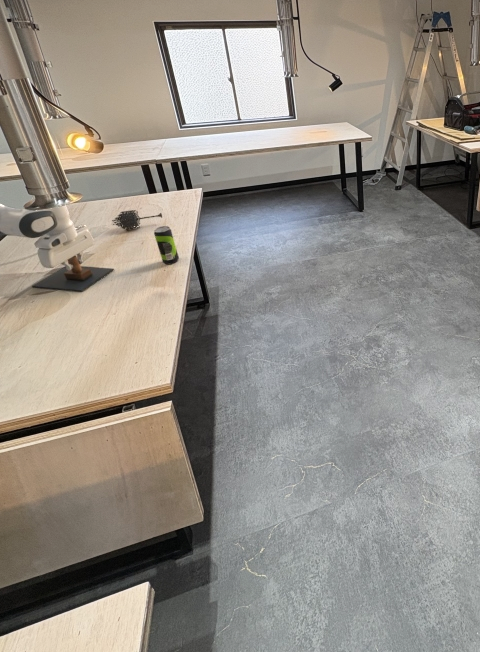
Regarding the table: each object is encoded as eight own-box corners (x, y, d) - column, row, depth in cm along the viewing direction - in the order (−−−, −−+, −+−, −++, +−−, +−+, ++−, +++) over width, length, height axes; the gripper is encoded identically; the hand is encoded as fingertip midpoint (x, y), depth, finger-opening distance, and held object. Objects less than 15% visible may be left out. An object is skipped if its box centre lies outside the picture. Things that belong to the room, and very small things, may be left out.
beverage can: (182, 258, 175) (173, 226, 168) (172, 265, 170) (163, 232, 163) (169, 257, 176) (160, 225, 170) (159, 264, 171) (149, 231, 164)
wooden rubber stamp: (66, 279, 160) (57, 259, 156) (76, 273, 164) (68, 253, 160) (83, 281, 159) (74, 261, 154) (93, 275, 162) (85, 255, 158)
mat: (32, 287, 157) (31, 285, 157) (68, 266, 171) (67, 264, 171) (82, 292, 153) (81, 290, 153) (114, 270, 167) (113, 268, 167)
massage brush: (163, 227, 205) (158, 209, 200) (113, 235, 197) (106, 217, 193) (164, 220, 212) (159, 203, 208) (116, 228, 205) (110, 210, 201)
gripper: (78, 222, 162) (90, 253, 169) (29, 245, 144) (45, 279, 151) (91, 223, 161) (103, 254, 168) (44, 247, 143) (59, 280, 150)
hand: (75, 266), depth 159 cm, fingers closed on wooden rubber stamp, 3 cm apart
